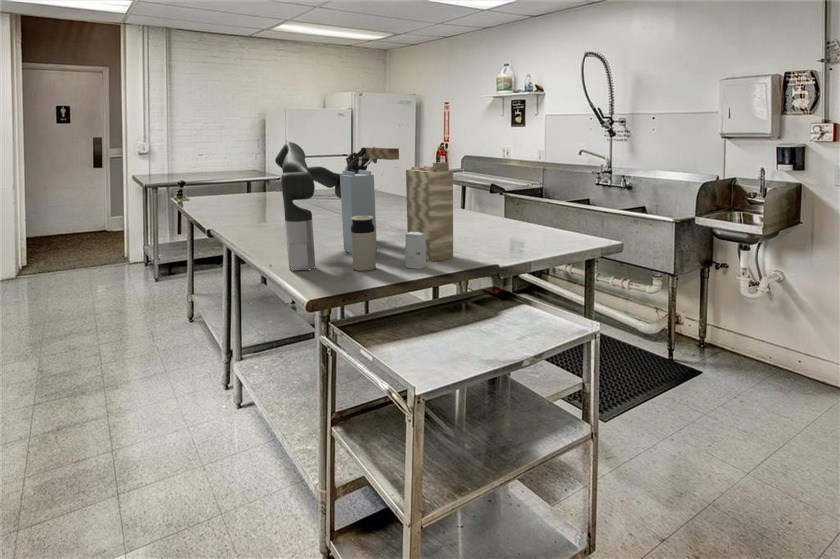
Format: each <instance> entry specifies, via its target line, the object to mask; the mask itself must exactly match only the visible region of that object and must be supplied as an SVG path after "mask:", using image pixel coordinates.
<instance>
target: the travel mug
mask: <svg viewBox="0 0 840 559" xmlns="http://www.w3.org/2000/svg"><path fill="white" fill-rule="evenodd" d="M351 219H352V222H353V224H352V226H351V240H352V254H351V255H352V256H351V257H352V260H351V261H352V269H353V270H354V271H360V272H368V271H373V270H374V269H376V267H377V265H376V264H377V263H376V261H377V260H376V252H375V234H374V225H373V223H372V219H373V217H372V216H355V217H352V218H351Z"/></svg>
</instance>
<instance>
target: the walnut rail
mask: <svg viewBox="0 0 840 559" xmlns="http://www.w3.org/2000/svg"><path fill="white" fill-rule="evenodd" d="M362 148H363V147H361V148H360V150H361V149H362ZM365 150H366V153H365V154H364V156H363V157H362V158H369V159H377V160H385V161H387V160H388V161H393V160H400V148H398V147H396V148H394V147H375V148H373V147H365Z"/></svg>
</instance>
